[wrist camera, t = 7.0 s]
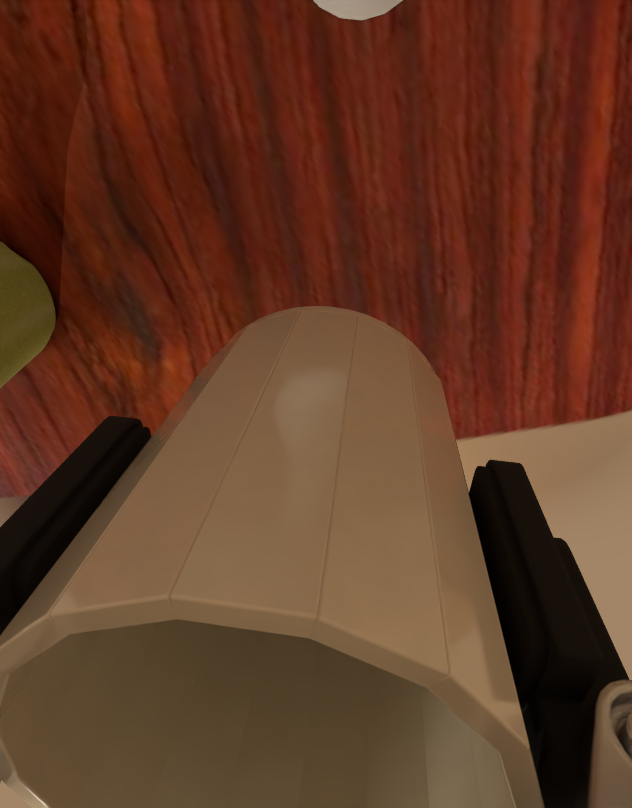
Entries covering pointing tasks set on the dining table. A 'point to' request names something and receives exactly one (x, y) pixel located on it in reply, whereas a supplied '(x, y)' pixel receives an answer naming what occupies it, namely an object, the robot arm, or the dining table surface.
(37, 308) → the plant pot
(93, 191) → the dining table surface
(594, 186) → the dining table surface
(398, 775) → the paper cup
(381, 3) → the chalice
